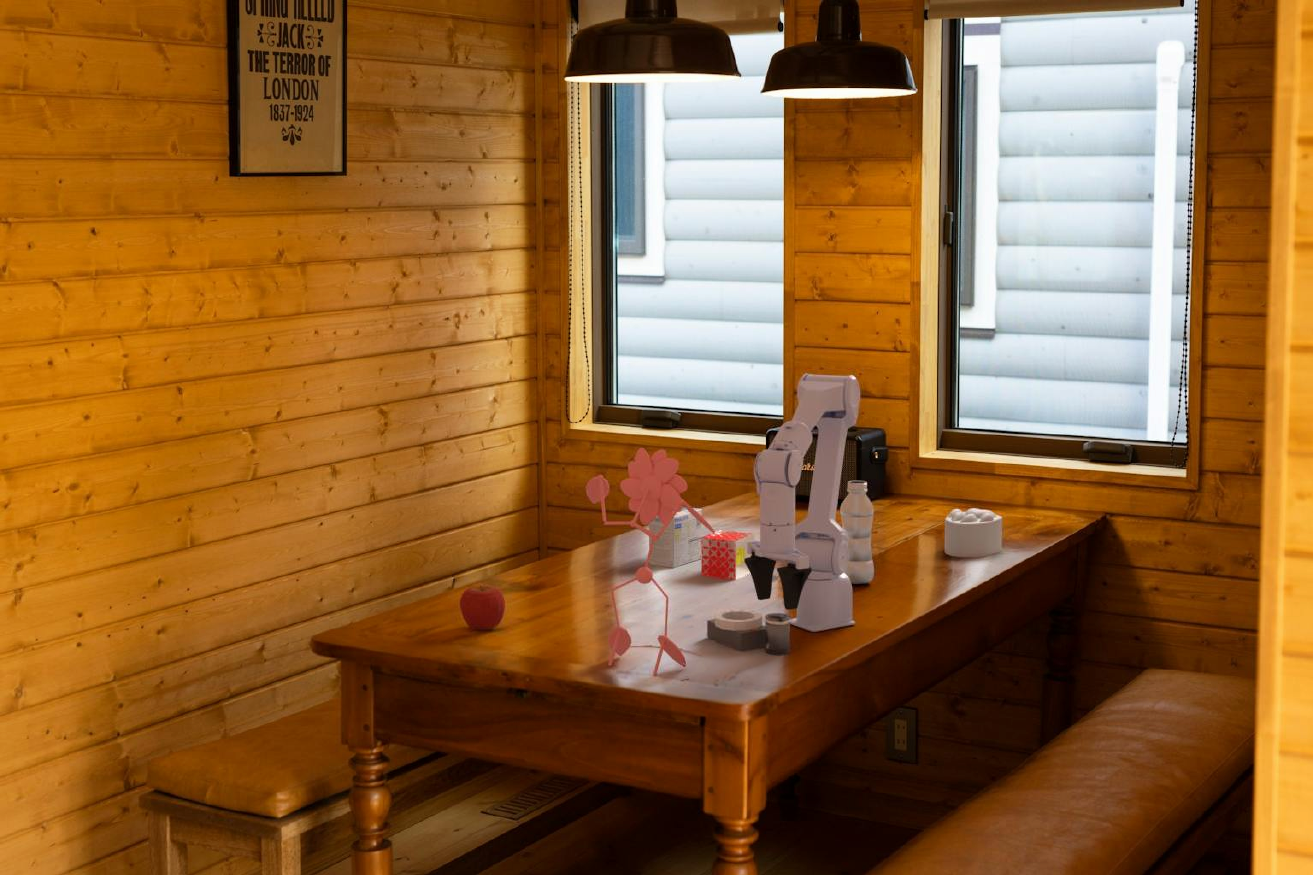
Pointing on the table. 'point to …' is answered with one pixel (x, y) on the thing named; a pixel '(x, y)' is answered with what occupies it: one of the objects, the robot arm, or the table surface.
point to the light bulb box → (676, 540)
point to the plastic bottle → (858, 532)
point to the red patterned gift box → (725, 554)
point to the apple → (482, 607)
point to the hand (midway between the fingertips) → (777, 603)
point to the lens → (777, 634)
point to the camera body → (737, 629)
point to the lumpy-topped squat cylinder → (972, 533)
